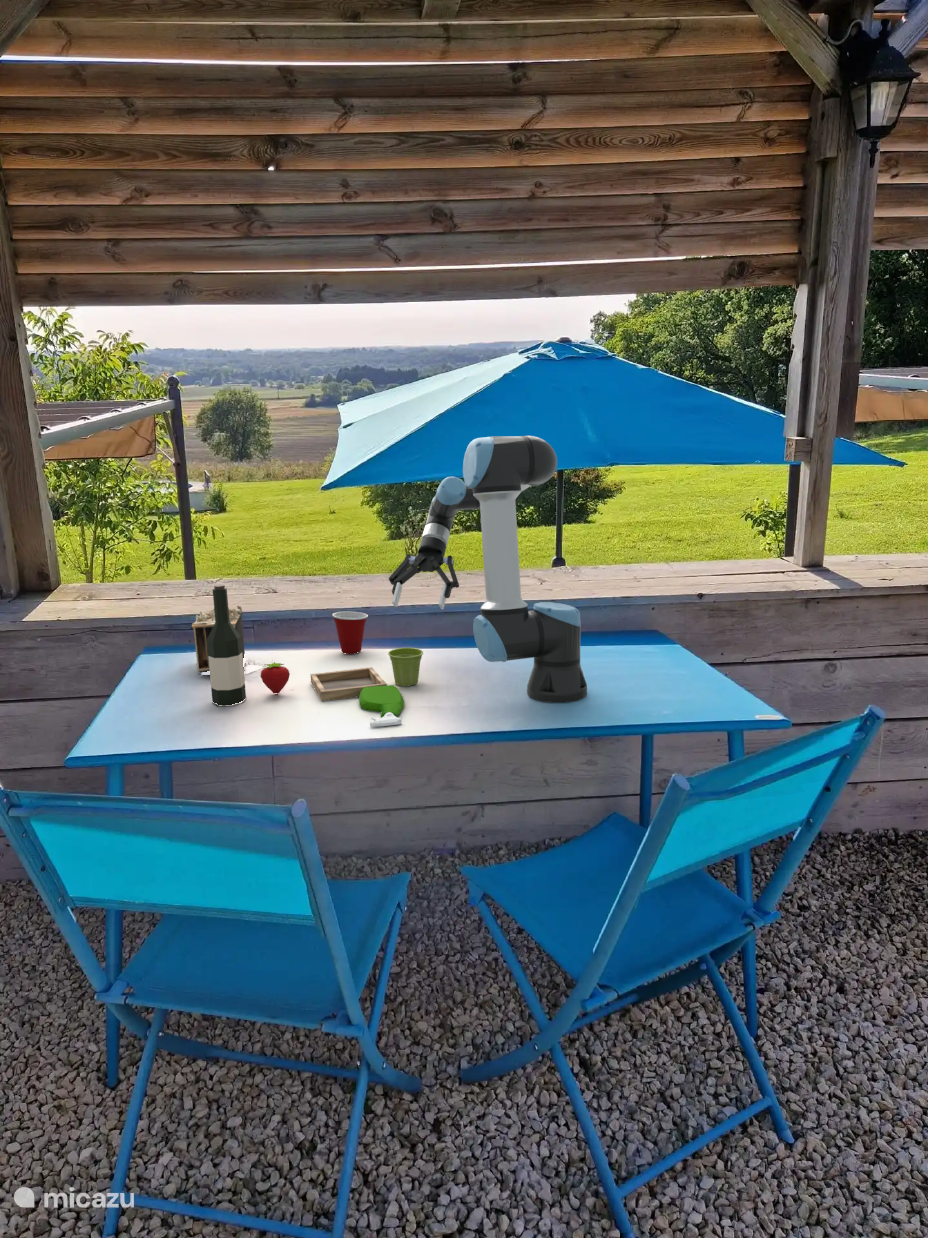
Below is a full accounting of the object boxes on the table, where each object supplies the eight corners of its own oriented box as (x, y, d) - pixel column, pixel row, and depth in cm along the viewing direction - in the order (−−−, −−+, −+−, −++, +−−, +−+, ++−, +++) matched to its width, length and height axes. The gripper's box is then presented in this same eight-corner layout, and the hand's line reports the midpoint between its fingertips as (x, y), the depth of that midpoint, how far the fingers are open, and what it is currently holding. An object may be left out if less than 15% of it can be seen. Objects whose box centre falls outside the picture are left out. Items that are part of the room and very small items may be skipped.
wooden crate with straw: (162, 667, 259) (156, 605, 255) (240, 651, 275) (236, 592, 271) (201, 688, 241) (195, 621, 236) (282, 669, 257) (278, 606, 252)
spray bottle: (400, 694, 230) (411, 728, 206) (357, 698, 228) (364, 732, 204) (399, 684, 229) (411, 716, 205) (357, 687, 227) (363, 720, 204)
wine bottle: (211, 698, 229) (200, 584, 222) (244, 694, 232) (234, 581, 225) (214, 708, 221) (203, 590, 214) (248, 703, 224) (238, 586, 217)
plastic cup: (374, 654, 268) (372, 615, 265) (339, 658, 264) (336, 619, 261) (364, 645, 278) (362, 608, 275) (330, 649, 274) (328, 611, 271)
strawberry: (288, 697, 228) (285, 660, 226) (259, 698, 228) (256, 660, 226) (293, 690, 234) (290, 654, 232) (264, 691, 234) (262, 654, 232)
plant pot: (426, 678, 242) (425, 647, 240) (421, 688, 233) (420, 657, 231) (392, 678, 243) (391, 647, 241) (386, 688, 234) (385, 656, 232)
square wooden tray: (387, 693, 230) (386, 684, 229) (321, 701, 224) (321, 691, 224) (372, 675, 245) (372, 667, 245) (310, 683, 240) (310, 674, 240)
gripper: (478, 552, 254) (463, 615, 243) (397, 549, 261) (379, 610, 251) (472, 536, 248) (457, 600, 237) (389, 534, 255) (371, 596, 245)
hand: (417, 605), depth 244 cm, fingers open, 13 cm apart
